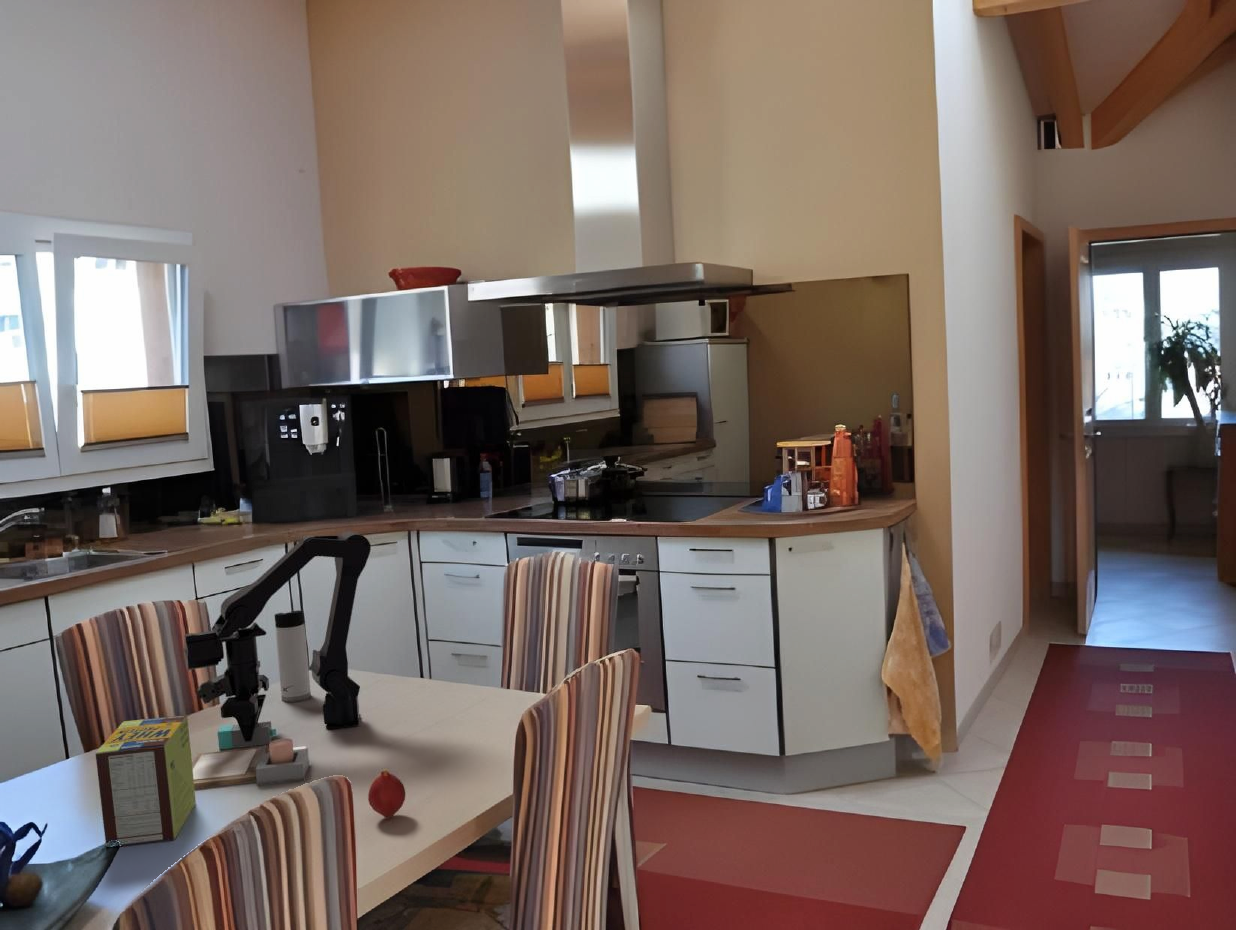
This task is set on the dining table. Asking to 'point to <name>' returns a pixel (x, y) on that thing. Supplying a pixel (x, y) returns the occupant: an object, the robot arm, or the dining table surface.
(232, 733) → the block
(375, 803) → the onion
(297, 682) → the travel mug
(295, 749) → the card
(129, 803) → the protein box
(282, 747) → the button
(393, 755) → the dining table surface
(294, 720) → the dining table surface
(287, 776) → the button housing
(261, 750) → the clipboard
